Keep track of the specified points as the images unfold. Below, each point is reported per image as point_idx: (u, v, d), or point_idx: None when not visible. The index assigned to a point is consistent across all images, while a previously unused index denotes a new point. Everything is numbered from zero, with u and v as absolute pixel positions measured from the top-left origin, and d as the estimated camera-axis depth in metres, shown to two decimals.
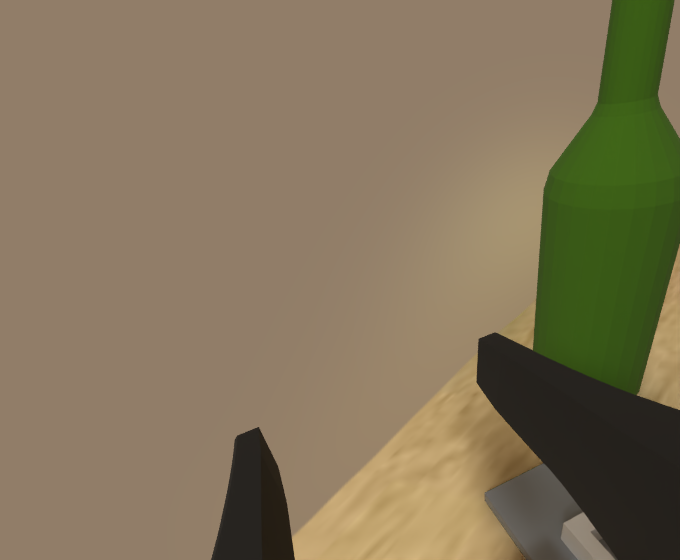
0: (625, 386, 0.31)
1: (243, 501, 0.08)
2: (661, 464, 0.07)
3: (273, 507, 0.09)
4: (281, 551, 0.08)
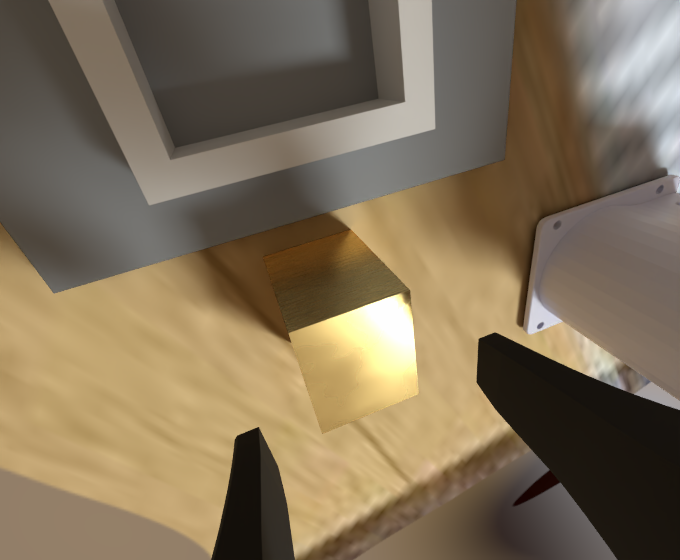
0: None
1: (243, 501, 0.08)
2: (661, 464, 0.07)
3: (273, 507, 0.09)
4: (281, 551, 0.08)
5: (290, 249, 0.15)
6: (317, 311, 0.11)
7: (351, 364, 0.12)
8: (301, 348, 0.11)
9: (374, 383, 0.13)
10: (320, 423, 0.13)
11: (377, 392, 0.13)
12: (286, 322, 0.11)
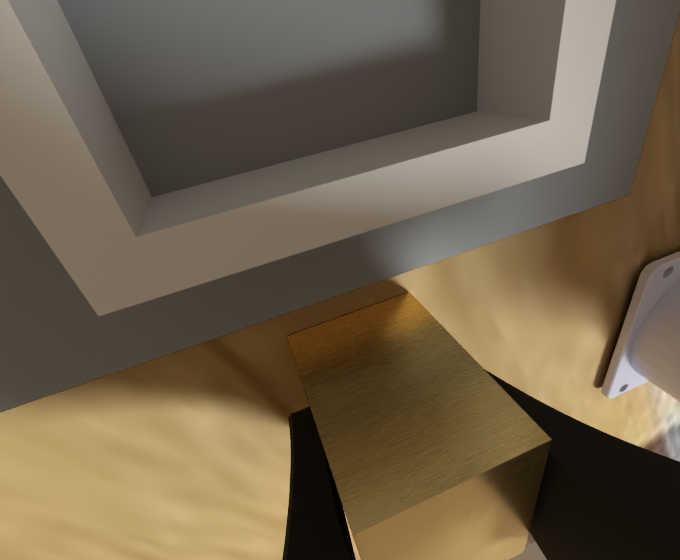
0: None
1: (310, 472, 0.08)
2: (595, 499, 0.06)
3: (333, 480, 0.09)
4: (343, 522, 0.08)
5: (326, 325, 0.10)
6: (396, 478, 0.07)
7: (442, 545, 0.07)
8: (371, 547, 0.06)
9: (469, 557, 0.08)
10: None
11: None
12: (344, 502, 0.06)
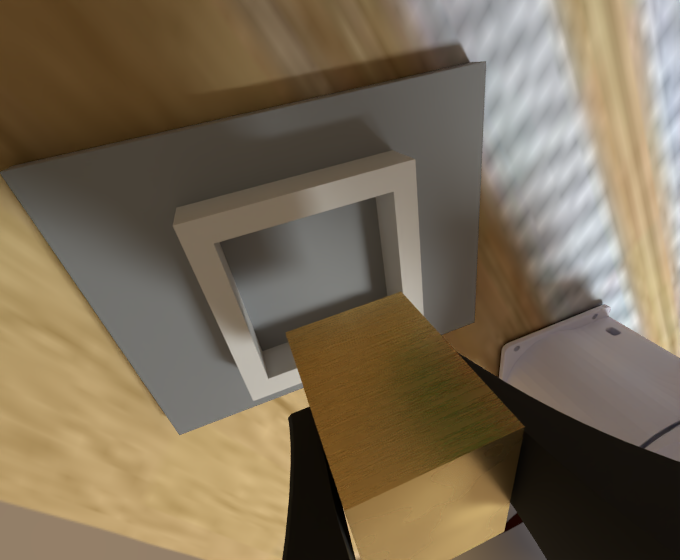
0: None
1: (309, 472, 0.08)
2: (595, 499, 0.06)
3: (332, 480, 0.09)
4: (343, 522, 0.08)
5: (322, 323, 0.11)
6: (384, 461, 0.07)
7: (427, 523, 0.08)
8: (361, 522, 0.07)
9: (452, 535, 0.09)
10: None
11: (454, 542, 0.09)
12: (337, 483, 0.07)
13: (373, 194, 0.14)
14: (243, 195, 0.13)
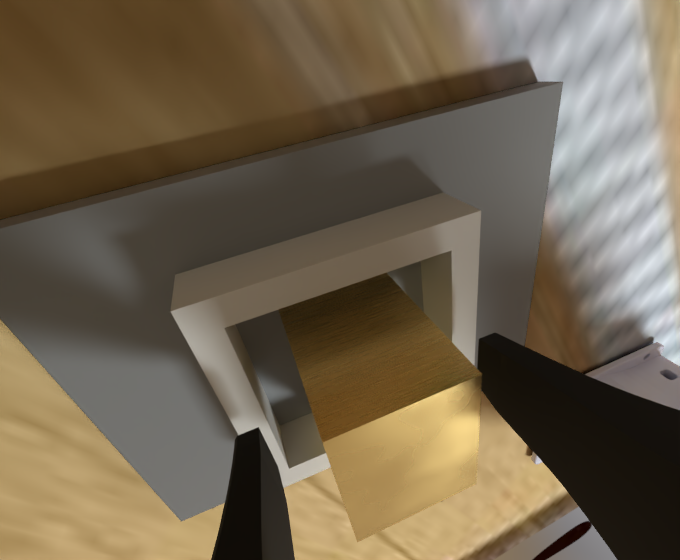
0: None
1: (243, 501, 0.08)
2: (661, 464, 0.07)
3: (273, 507, 0.09)
4: (281, 551, 0.08)
5: None
6: (359, 404, 0.08)
7: (400, 465, 0.09)
8: (338, 456, 0.08)
9: (425, 481, 0.10)
10: (356, 532, 0.10)
11: (428, 489, 0.10)
12: (317, 421, 0.08)
13: (427, 255, 0.11)
14: (262, 259, 0.10)
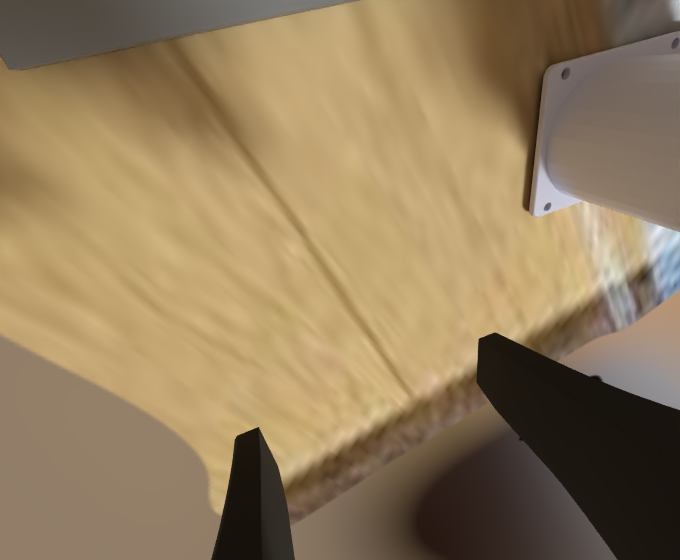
0: None
1: (243, 501, 0.08)
2: (662, 464, 0.07)
3: (273, 507, 0.09)
4: (281, 551, 0.08)
5: None
6: None
7: None
8: None
9: None
10: None
11: None
12: None
13: None
14: None
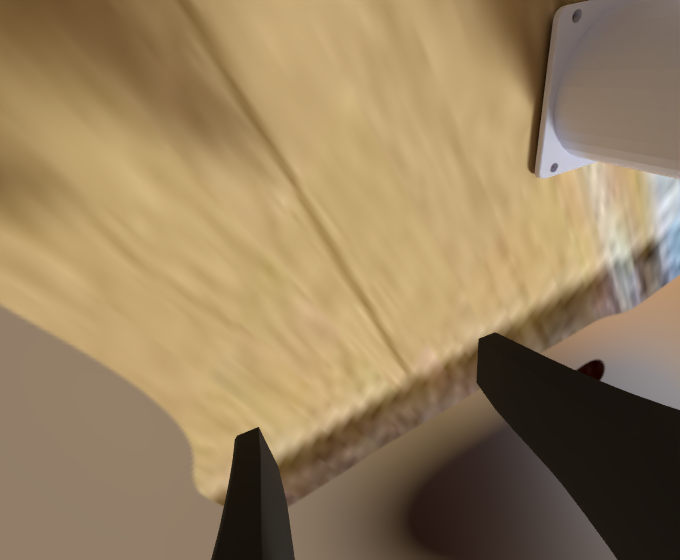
0: None
1: (243, 501, 0.08)
2: (661, 464, 0.07)
3: (273, 507, 0.09)
4: (281, 551, 0.08)
5: None
6: None
7: None
8: None
9: None
10: None
11: None
12: None
13: None
14: None
